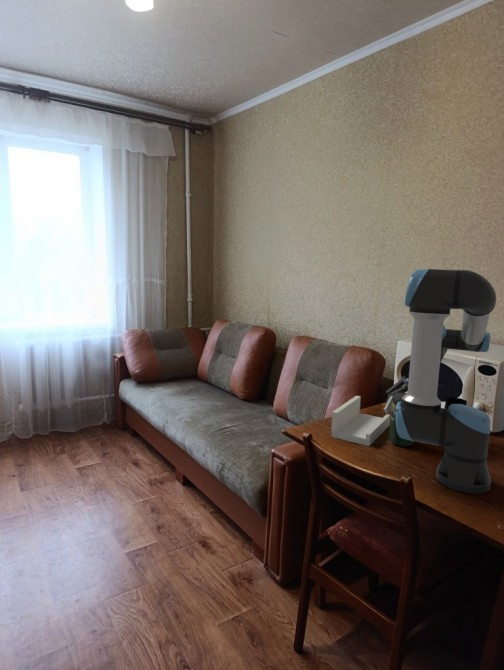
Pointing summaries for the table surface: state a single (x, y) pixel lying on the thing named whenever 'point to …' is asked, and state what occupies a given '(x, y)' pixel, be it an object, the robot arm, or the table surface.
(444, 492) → the table surface
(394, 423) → the coffee jar
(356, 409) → the channel shelf
